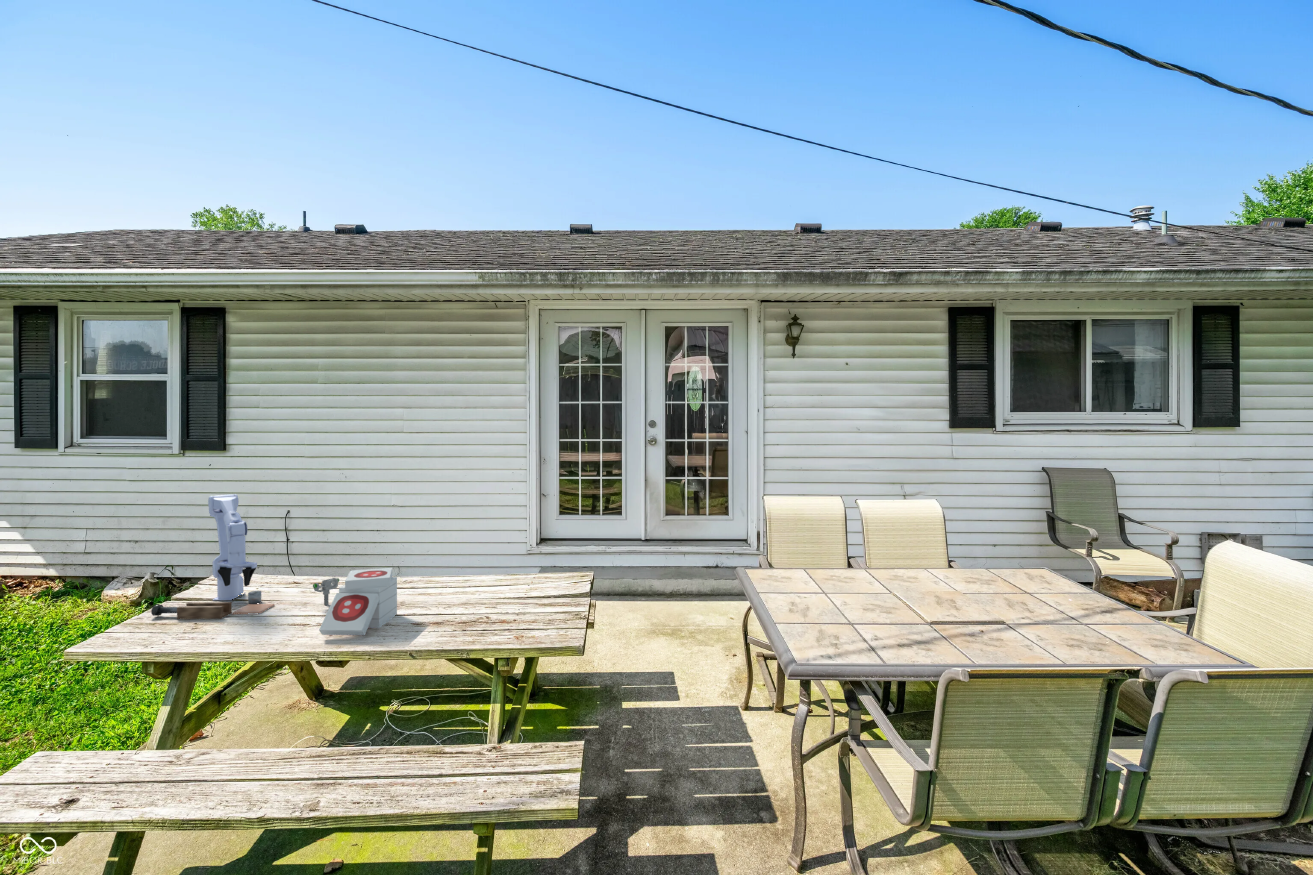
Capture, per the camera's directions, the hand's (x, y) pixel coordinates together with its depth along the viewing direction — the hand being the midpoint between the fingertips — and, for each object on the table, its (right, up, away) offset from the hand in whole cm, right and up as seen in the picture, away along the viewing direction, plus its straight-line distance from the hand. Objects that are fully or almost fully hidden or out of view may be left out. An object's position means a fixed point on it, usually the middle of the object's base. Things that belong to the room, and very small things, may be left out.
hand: (237, 585), depth 235 cm
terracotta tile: (+9, -9, -3) cm, 13 cm away
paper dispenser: (+60, -11, -18) cm, 64 cm away
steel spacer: (+3, -9, +6) cm, 11 cm away
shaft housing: (-5, -9, -11) cm, 15 cm away
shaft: (-13, -9, -11) cm, 19 cm away
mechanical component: (+33, -9, +5) cm, 35 cm away
